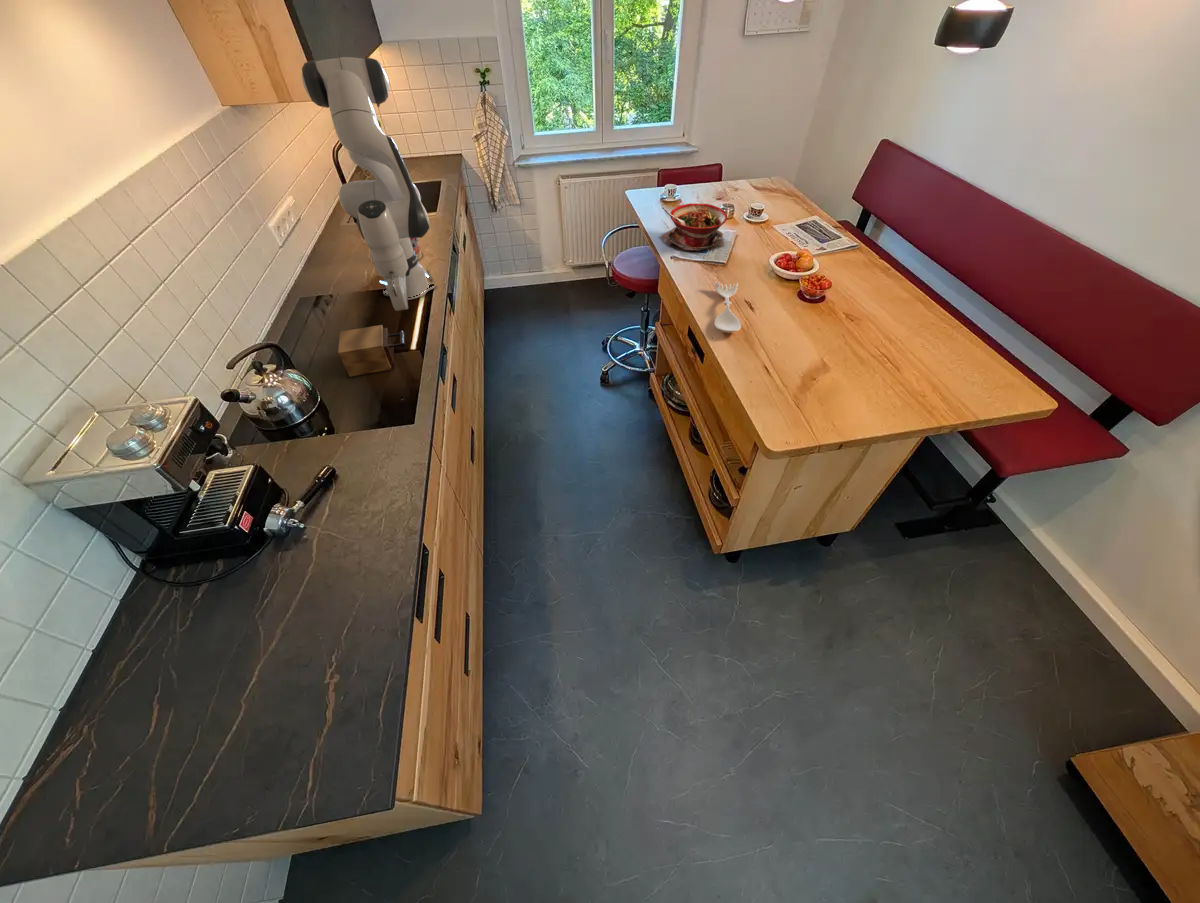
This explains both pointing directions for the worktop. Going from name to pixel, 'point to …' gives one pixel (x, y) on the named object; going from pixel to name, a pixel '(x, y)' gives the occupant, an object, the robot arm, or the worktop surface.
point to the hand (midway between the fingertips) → (405, 307)
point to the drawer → (391, 344)
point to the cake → (416, 247)
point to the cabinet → (363, 350)
